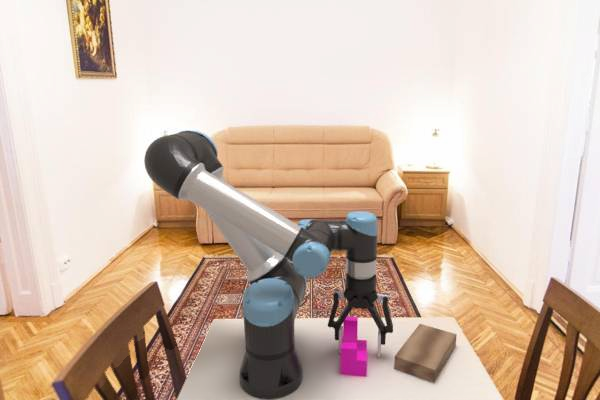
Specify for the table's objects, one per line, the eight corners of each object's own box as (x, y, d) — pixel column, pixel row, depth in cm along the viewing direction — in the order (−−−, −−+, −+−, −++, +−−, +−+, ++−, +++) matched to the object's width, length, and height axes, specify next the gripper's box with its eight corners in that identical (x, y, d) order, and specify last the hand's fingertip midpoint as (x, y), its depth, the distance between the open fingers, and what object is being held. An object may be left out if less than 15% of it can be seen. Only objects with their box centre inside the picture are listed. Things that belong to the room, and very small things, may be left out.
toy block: (366, 377, 106) (367, 349, 104) (340, 375, 107) (340, 348, 105) (366, 342, 120) (367, 317, 118) (343, 340, 121) (343, 316, 119)
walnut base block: (394, 370, 109) (394, 356, 108) (419, 336, 123) (419, 323, 122) (434, 384, 103) (435, 369, 102) (455, 347, 117) (456, 334, 116)
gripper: (405, 270, 110) (402, 348, 116) (320, 264, 115) (320, 340, 121) (406, 283, 103) (402, 365, 109) (315, 276, 108) (316, 356, 114)
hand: (359, 352), depth 115 cm, fingers open, 9 cm apart
